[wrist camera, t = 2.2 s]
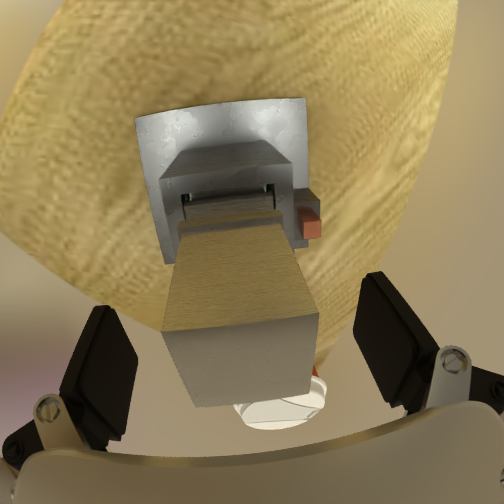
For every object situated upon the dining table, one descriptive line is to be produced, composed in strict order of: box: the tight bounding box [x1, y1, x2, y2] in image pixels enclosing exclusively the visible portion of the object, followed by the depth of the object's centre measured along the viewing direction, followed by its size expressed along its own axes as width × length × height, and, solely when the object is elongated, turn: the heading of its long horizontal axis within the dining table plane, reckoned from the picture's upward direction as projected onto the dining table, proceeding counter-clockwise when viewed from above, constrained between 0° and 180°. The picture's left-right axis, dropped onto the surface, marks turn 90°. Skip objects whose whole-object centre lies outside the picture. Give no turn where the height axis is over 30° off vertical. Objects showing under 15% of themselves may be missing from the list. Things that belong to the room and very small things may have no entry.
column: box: [161, 184, 319, 407], centre depth 16 cm, size 4×4×18 cm
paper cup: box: [234, 364, 327, 430], centre depth 26 cm, size 8×8×14 cm
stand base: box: [134, 98, 322, 264], centre depth 20 cm, size 14×14×11 cm
